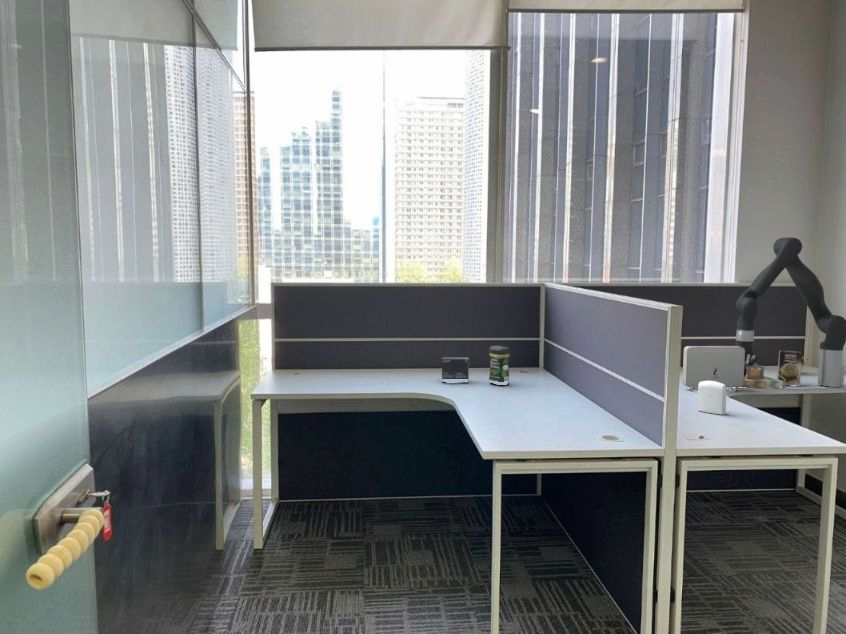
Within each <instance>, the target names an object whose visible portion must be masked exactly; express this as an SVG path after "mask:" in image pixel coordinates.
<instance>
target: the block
mask: <svg viewBox="0 0 846 634" xmlns="http://www.w3.org/2000/svg"><path fill="white" fill-rule="evenodd" d="M747 376H748V368H747V374H746V377H747ZM751 377H761V369H760V368H757V369H754V368H751Z"/></svg>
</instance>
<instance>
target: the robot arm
mask: <svg viewBox="0 0 846 634" xmlns="http://www.w3.org/2000/svg"><path fill="white" fill-rule="evenodd" d="M772 249H773V252H774V254H775V255H776V257H775V258H774V259H773V260H772V261H771V262H770V264H768V265H767V266H766V267H765V268H764V269H763V270H762V271H761V272H759V274H758V275H757V276H756V277H755V279H754V280H753V282H752V283H751V284H750V286H749V287H748V288H747V289H745V290H744V292H743V293H741V294H740V296H739V297H738V299H737V300H736V304H735V307H736V309H737V310H738V311H740V312H741V313H740V314H741V315H740V317H739V318H738V319H737V323H736V332H735V333H736V334H735V345H734V346H739V347H742V348H744V349H745V359H744V376H745V375H746V374H747V369H748V367H747V366H752V365H753V364H754V363H756V362H757V361H758V360H759V357H758V356H756V355H755V353H754V344H755V342H754V341H755V320H756V317H757V313H758V308H759V304H758V301H757V300H758V299H759V298H761V297H763V296H764V295H765V294H766V293H767V291H769V288H771V285H772V284H773V283H775V280H776V279H777V278H778V277H779V276H780V275H781V273H782V272H783V271H784V270H785V269H786V271H787V273H788V275H789V276H790V278H791V280H792V282H793V284H794V285H795V287H796V289H797V290H798V292H799V294H800V296H801V297H802V299H803V300H804V301H803V302H804V303H805V305H806V306H807V307H808V309H809V311H810V313H811V315H812V317H813V319H814V322H815V324H816V327H817V328H818V330H819V331H820V332H822V333H823V334H825V337H824V340H823V341H820V343H819V352H818V368H817V369H818V370H817V385H818V384H820V385H823V386H822V387H825V386H829V387H828V388H840V387H844V378H845V366H844V365H843V360H844V359H843V358H844V347H845V345H846V318H845V317H844V316H841V315H837V314H833V313H832V312H831V311H830V309H829V308H828V306H827V304H826V301H825V290H824V287H823V286H822V283H821V282H820V280H819V278H818V277H817V275H816V274H815V272H813V271H812V270H811V269H810V268H809V267H808V266H807V265H806V264H805V263H803V262H802V260H801V259H800V257H799V254H800V253H801V252H802V249H803V243H802V241H801V240H800V239H799V238H797V237H790V236H789V237H781V238H778V239H777V240H775V242H773V247H772ZM820 385H819V386H820Z"/></svg>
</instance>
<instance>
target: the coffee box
mask: <svg viewBox="0 0 846 634" xmlns="http://www.w3.org/2000/svg"><path fill="white" fill-rule="evenodd" d="M802 357H803V352H802V351H797V350H784V349H783V350H781V349H779V351H778V365H777V366H778V367H777V379H779V380H781V381H783V385H796V386H800V387H801V374H802V365H801V364H802V360H803V359H802Z"/></svg>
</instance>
